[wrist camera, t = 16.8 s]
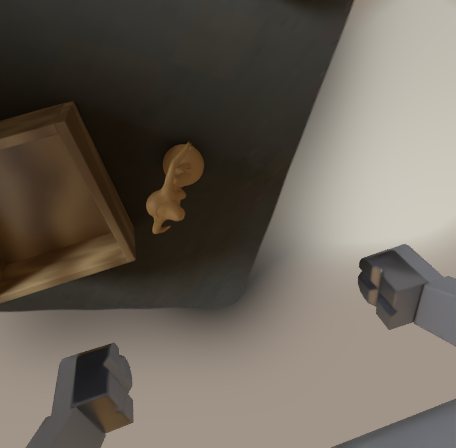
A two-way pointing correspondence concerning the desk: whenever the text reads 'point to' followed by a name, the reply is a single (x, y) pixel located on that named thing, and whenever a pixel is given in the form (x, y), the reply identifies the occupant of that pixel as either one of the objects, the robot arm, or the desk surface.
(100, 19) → the desk surface
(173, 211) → the figurine
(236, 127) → the desk surface
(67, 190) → the wooden tray
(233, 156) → the desk surface
